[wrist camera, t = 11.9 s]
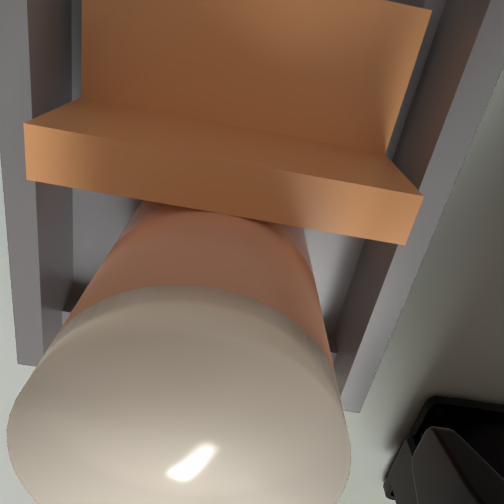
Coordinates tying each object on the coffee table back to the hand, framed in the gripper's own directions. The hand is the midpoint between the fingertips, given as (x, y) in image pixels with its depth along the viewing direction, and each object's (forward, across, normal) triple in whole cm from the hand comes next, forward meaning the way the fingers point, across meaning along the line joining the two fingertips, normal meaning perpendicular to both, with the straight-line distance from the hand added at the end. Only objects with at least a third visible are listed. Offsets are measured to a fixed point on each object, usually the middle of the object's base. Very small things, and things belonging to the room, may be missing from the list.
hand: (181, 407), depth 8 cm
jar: (+7, 0, 0) cm, 7 cm away
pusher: (+7, 0, -5) cm, 9 cm away
